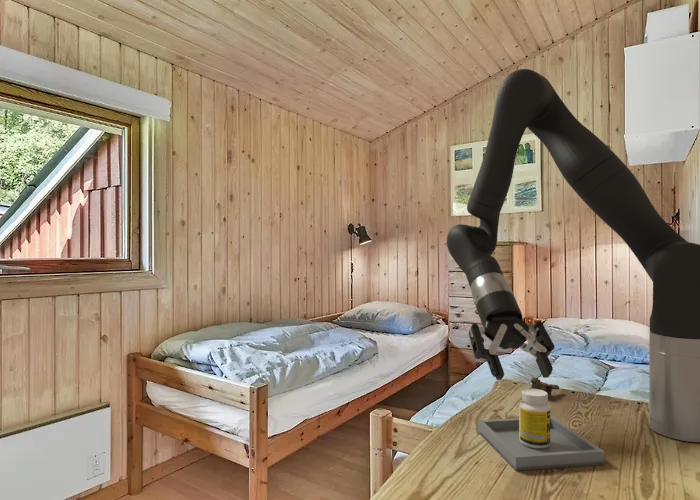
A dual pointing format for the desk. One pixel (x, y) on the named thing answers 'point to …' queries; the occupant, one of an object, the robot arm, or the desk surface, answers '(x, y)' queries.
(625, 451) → the desk surface
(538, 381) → the cat figurine
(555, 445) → the tray
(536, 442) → the supplement bottle
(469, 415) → the desk surface
